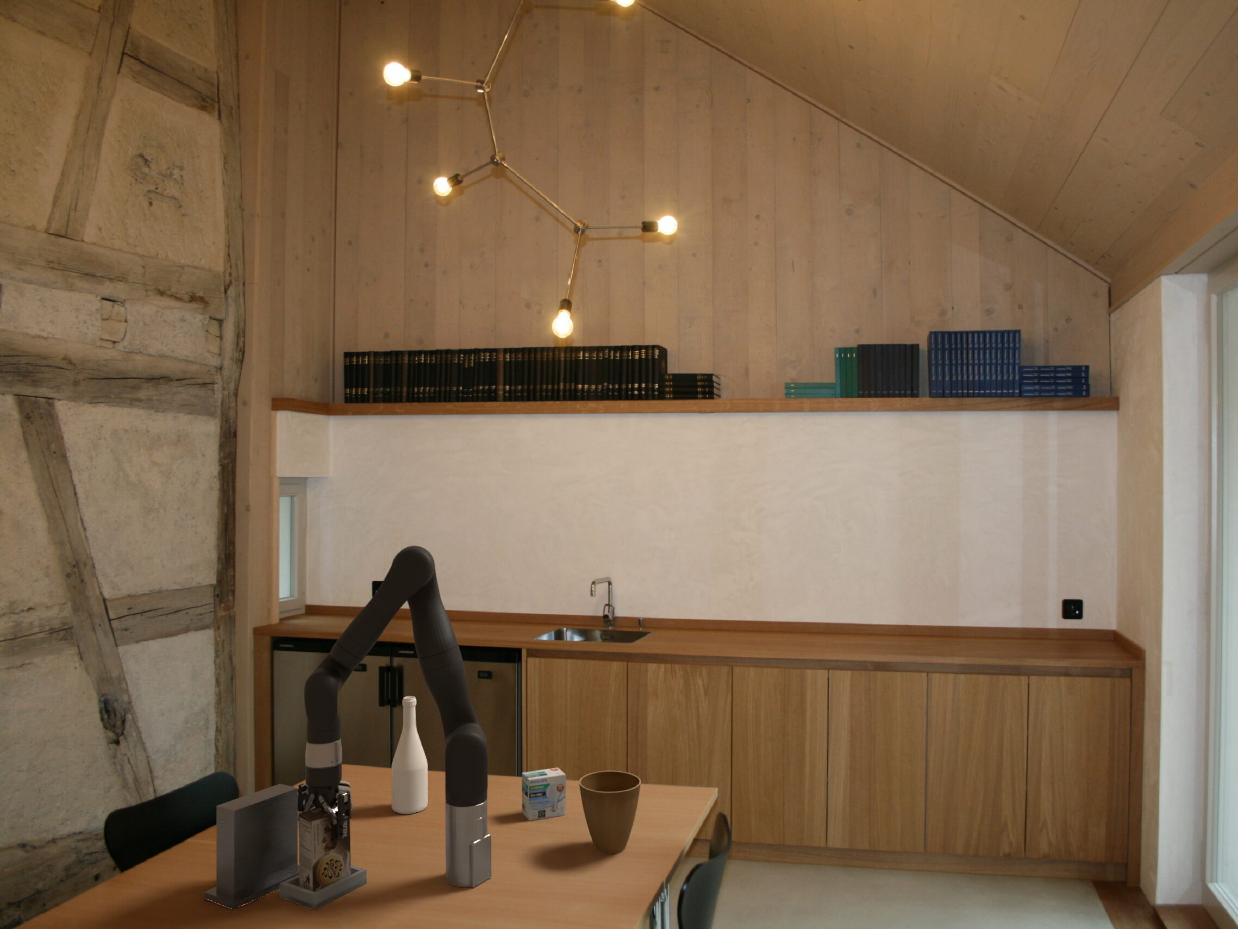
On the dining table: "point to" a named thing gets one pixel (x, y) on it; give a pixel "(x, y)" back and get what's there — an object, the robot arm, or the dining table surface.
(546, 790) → the light bulb box
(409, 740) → the wine bottle
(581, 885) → the dining table surface
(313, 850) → the coffee box
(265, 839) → the upright panel on base
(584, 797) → the plant pot
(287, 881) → the parts tray
